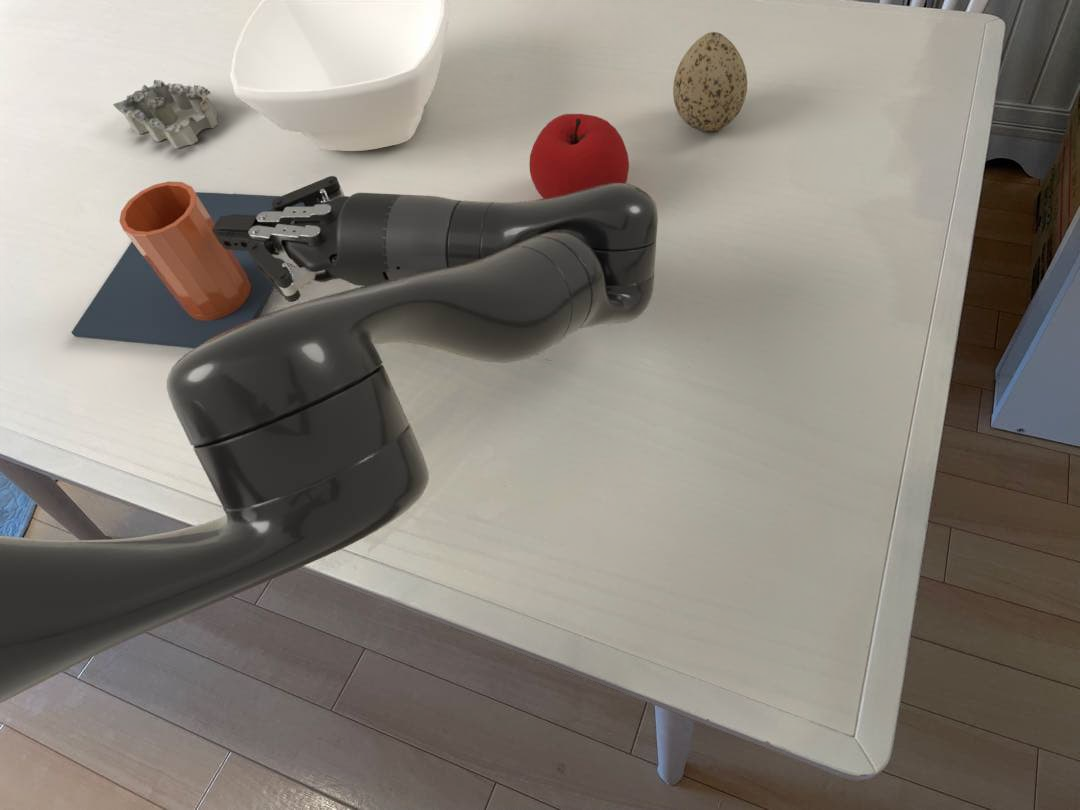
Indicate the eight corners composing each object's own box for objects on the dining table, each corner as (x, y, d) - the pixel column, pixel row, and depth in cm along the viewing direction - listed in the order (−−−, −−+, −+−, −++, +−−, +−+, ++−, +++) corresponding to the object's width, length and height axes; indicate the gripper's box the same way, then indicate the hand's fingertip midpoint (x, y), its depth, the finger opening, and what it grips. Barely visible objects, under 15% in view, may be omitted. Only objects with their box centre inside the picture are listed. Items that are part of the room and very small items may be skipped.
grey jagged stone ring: (229, 119, 93) (213, 88, 90) (181, 156, 90) (162, 126, 87) (173, 95, 98) (155, 65, 94) (125, 130, 95) (106, 100, 91)
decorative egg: (742, 101, 83) (750, 9, 75) (745, 146, 79) (754, 54, 71) (672, 105, 84) (674, 15, 76) (672, 149, 80) (673, 59, 72)
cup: (233, 323, 74) (173, 237, 64) (172, 318, 75) (105, 233, 66) (261, 271, 77) (208, 183, 68) (202, 267, 78) (142, 179, 69)
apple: (634, 170, 79) (631, 80, 71) (624, 234, 74) (619, 146, 66) (544, 169, 81) (531, 82, 73) (529, 231, 76) (512, 146, 68)
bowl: (461, 181, 82) (434, 81, 72) (258, 197, 84) (206, 103, 75) (477, 56, 94) (456, -44, 84) (300, 74, 97) (260, -21, 87)
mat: (240, 352, 72) (237, 348, 72) (74, 336, 76) (70, 332, 76) (317, 201, 83) (315, 197, 82) (168, 194, 87) (165, 190, 86)
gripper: (419, 151, 64) (231, 145, 68) (368, 270, 57) (161, 255, 61) (440, 220, 71) (266, 211, 74) (396, 335, 64) (207, 318, 67)
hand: (219, 231), depth 68 cm, fingers closed
